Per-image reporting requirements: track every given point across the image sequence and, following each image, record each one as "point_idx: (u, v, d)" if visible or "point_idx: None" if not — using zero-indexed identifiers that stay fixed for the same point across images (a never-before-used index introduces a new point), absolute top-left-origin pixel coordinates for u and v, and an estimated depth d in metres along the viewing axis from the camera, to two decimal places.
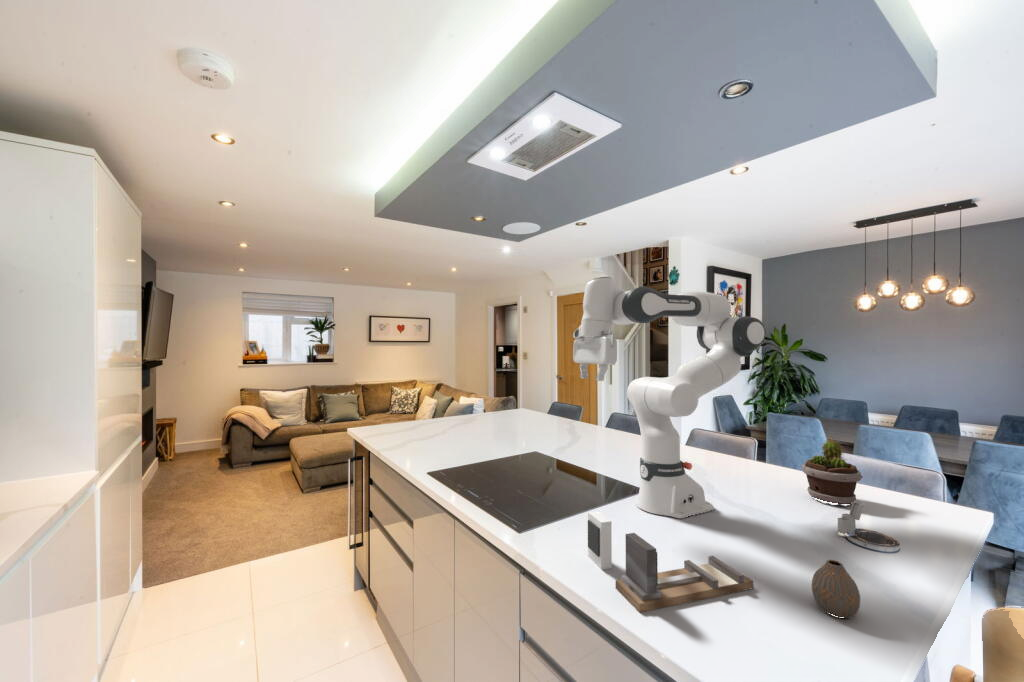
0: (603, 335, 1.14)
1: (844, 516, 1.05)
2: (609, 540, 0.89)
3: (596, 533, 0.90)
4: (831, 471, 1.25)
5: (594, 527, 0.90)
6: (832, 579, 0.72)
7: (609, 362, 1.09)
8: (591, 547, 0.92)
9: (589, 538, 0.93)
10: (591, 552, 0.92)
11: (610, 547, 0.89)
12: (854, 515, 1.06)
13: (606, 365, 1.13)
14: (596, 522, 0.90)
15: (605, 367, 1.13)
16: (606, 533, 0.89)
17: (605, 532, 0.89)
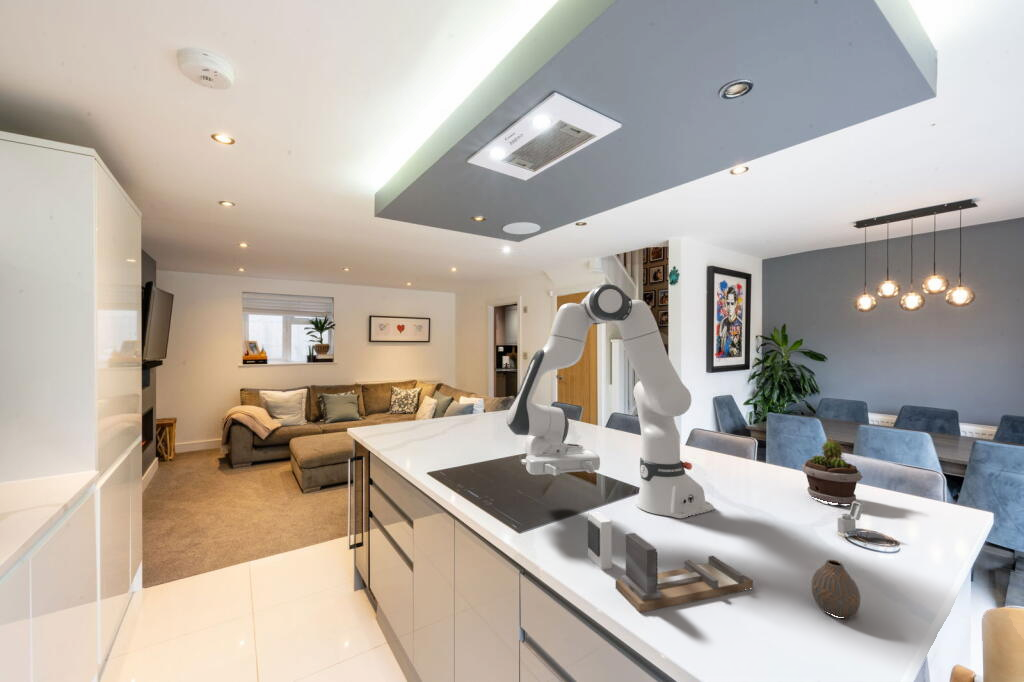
0: None
1: (844, 516, 1.05)
2: (609, 540, 0.89)
3: (596, 533, 0.90)
4: (831, 471, 1.25)
5: (594, 527, 0.90)
6: (832, 579, 0.72)
7: (531, 469, 1.05)
8: (591, 547, 0.92)
9: (589, 538, 0.93)
10: (591, 552, 0.92)
11: (610, 547, 0.89)
12: (854, 515, 1.06)
13: (544, 465, 1.06)
14: (596, 522, 0.90)
15: (545, 467, 1.05)
16: (606, 533, 0.89)
17: (605, 532, 0.89)
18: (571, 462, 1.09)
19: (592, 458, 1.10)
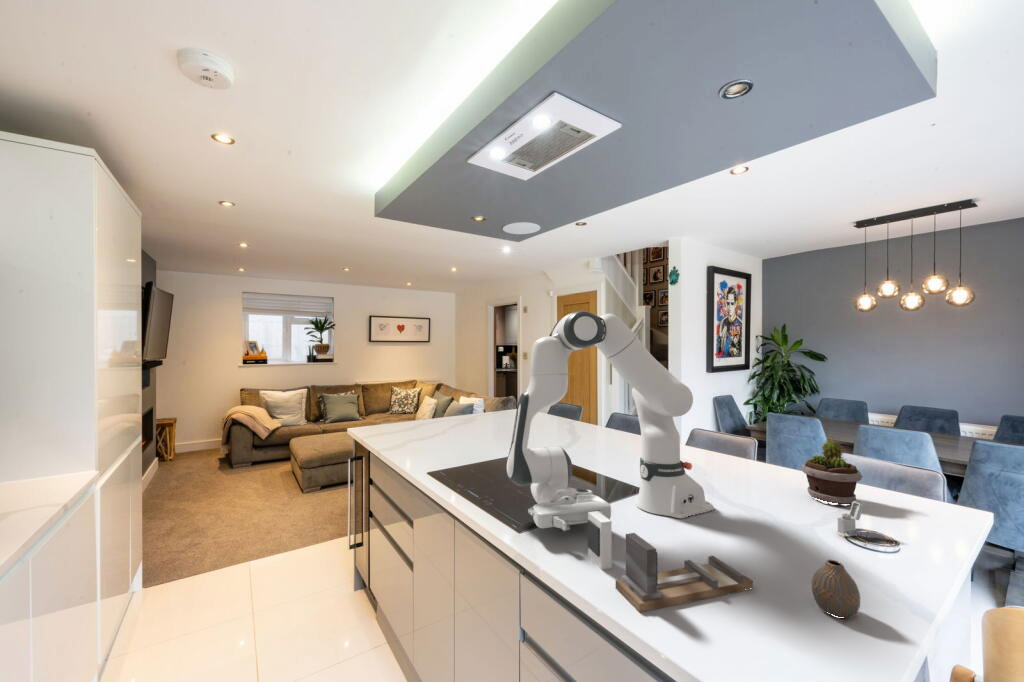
0: None
1: (844, 516, 1.05)
2: (609, 540, 0.89)
3: (596, 533, 0.90)
4: (831, 471, 1.25)
5: (594, 527, 0.90)
6: (832, 579, 0.72)
7: (539, 523, 1.00)
8: (591, 547, 0.92)
9: (589, 538, 0.93)
10: (591, 552, 0.92)
11: (610, 547, 0.89)
12: (854, 515, 1.06)
13: (553, 518, 1.00)
14: (596, 522, 0.90)
15: (553, 520, 1.00)
16: (606, 533, 0.89)
17: (605, 532, 0.89)
18: (581, 513, 1.03)
19: (603, 508, 1.05)
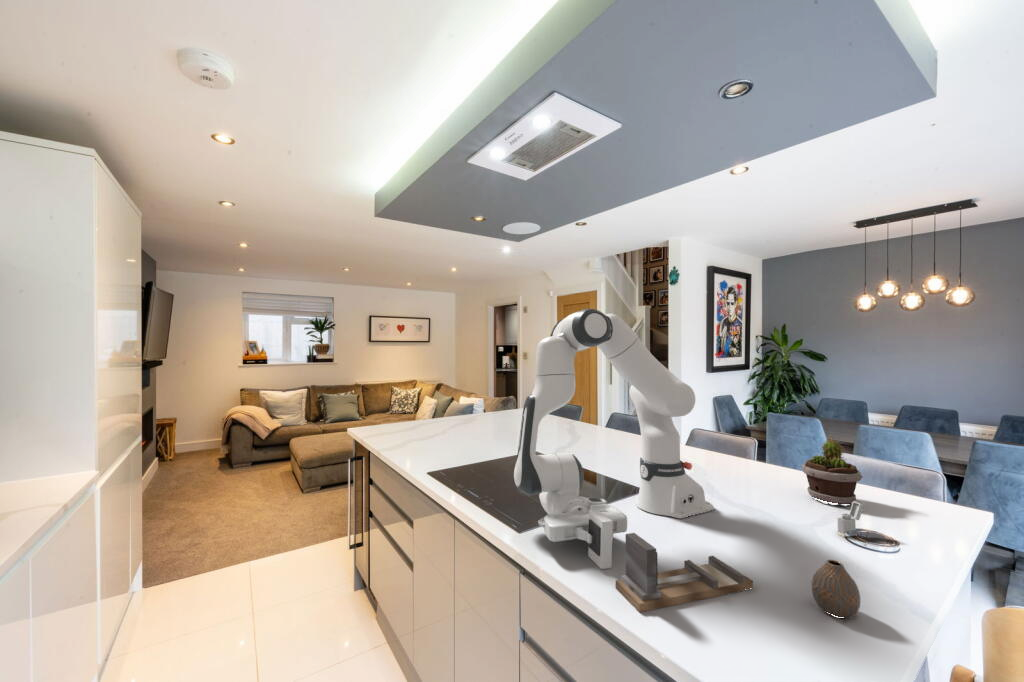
0: None
1: (844, 516, 1.05)
2: (610, 540, 0.89)
3: (597, 532, 0.90)
4: (831, 471, 1.25)
5: (595, 526, 0.90)
6: (832, 579, 0.72)
7: (551, 536, 0.93)
8: (591, 546, 0.92)
9: None
10: (592, 552, 0.92)
11: (611, 547, 0.89)
12: (854, 515, 1.06)
13: (576, 529, 0.94)
14: (597, 522, 0.91)
15: (577, 531, 0.93)
16: (607, 533, 0.89)
17: (606, 532, 0.89)
18: None
19: (619, 519, 0.97)
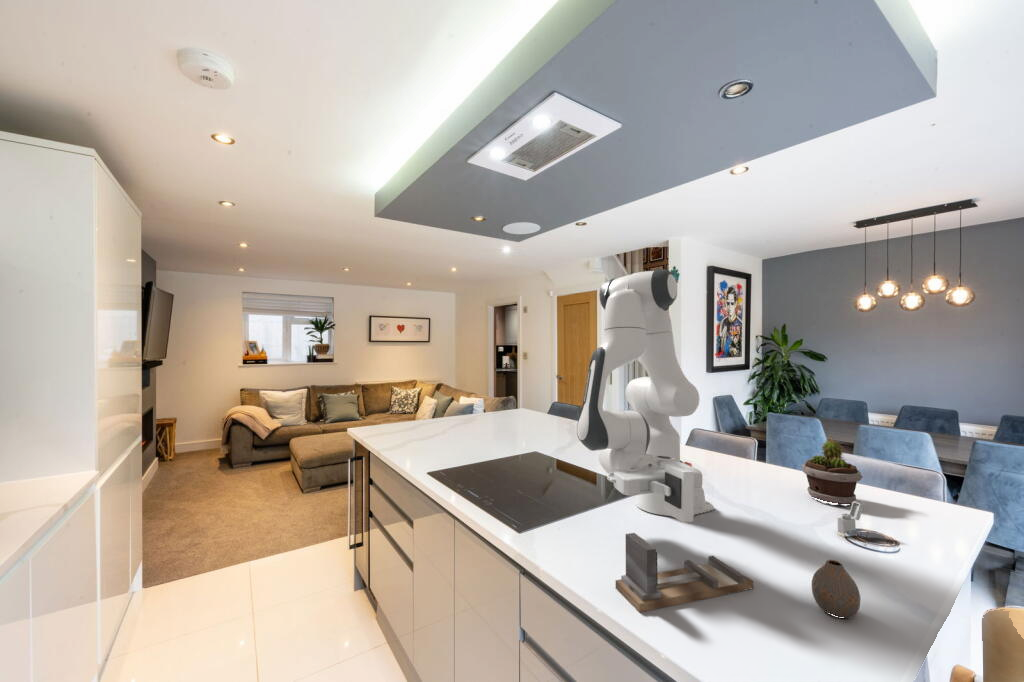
0: None
1: (844, 516, 1.05)
2: (691, 491, 0.83)
3: (677, 484, 0.84)
4: (831, 471, 1.25)
5: (674, 478, 0.85)
6: (832, 579, 0.72)
7: (625, 489, 0.87)
8: (669, 500, 0.86)
9: None
10: (669, 506, 0.87)
11: (692, 499, 0.83)
12: (854, 515, 1.06)
13: (651, 483, 0.88)
14: (676, 473, 0.85)
15: (652, 485, 0.88)
16: (688, 484, 0.83)
17: (687, 483, 0.83)
18: None
19: (694, 474, 0.92)
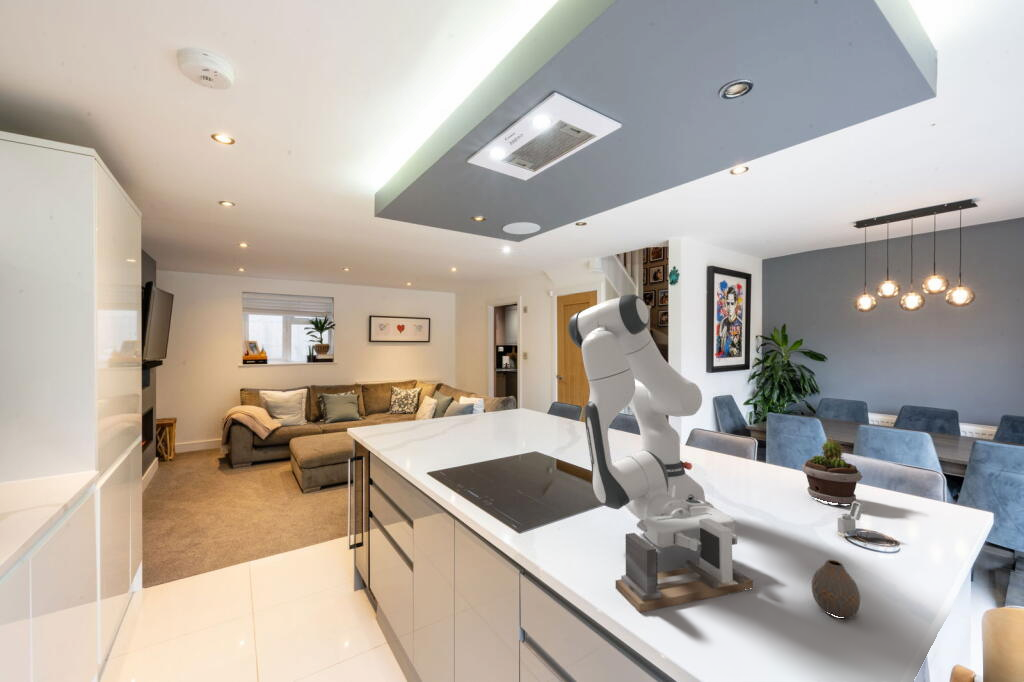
0: None
1: (844, 516, 1.05)
2: (730, 550, 0.81)
3: (714, 543, 0.82)
4: (831, 471, 1.25)
5: (711, 536, 0.82)
6: (832, 579, 0.72)
7: (659, 541, 0.85)
8: (705, 558, 0.84)
9: (703, 548, 0.85)
10: (706, 563, 0.84)
11: (731, 558, 0.81)
12: (854, 515, 1.06)
13: (676, 535, 0.85)
14: (713, 531, 0.82)
15: (677, 538, 0.85)
16: (726, 543, 0.81)
17: (725, 542, 0.81)
18: None
19: (727, 522, 0.89)
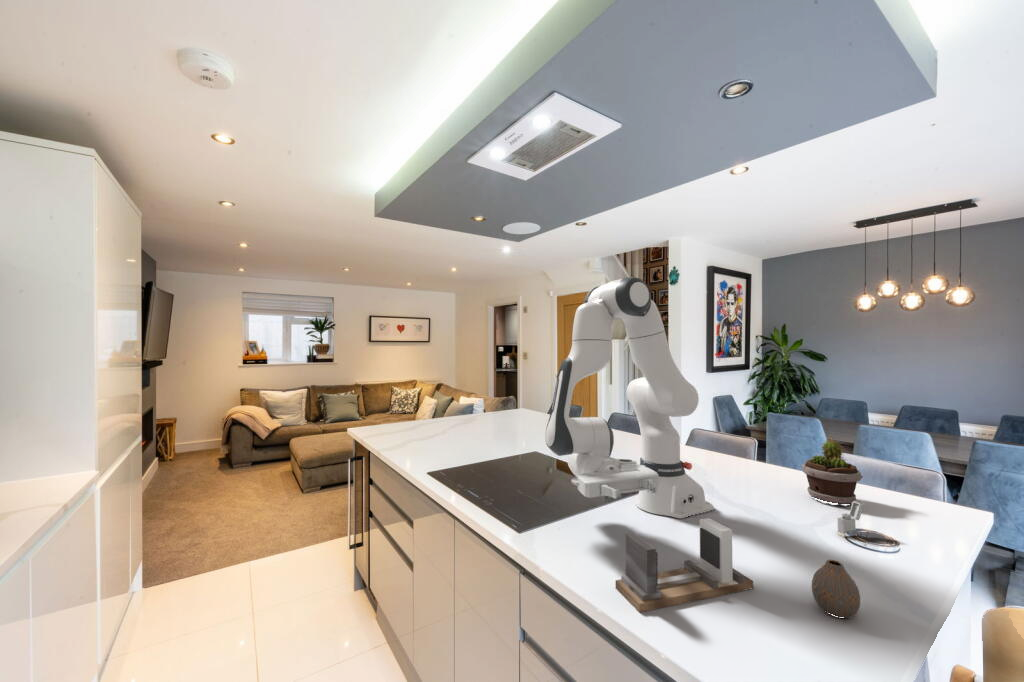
0: None
1: (844, 516, 1.05)
2: (730, 550, 0.81)
3: (715, 543, 0.82)
4: (831, 471, 1.25)
5: (711, 536, 0.82)
6: (832, 579, 0.72)
7: (586, 492, 0.95)
8: (705, 558, 0.84)
9: (703, 548, 0.85)
10: (706, 563, 0.84)
11: (731, 558, 0.81)
12: (854, 515, 1.06)
13: (601, 486, 0.95)
14: (713, 531, 0.82)
15: (602, 488, 0.94)
16: (726, 543, 0.81)
17: (725, 542, 0.81)
18: (628, 481, 0.98)
19: (651, 476, 0.99)
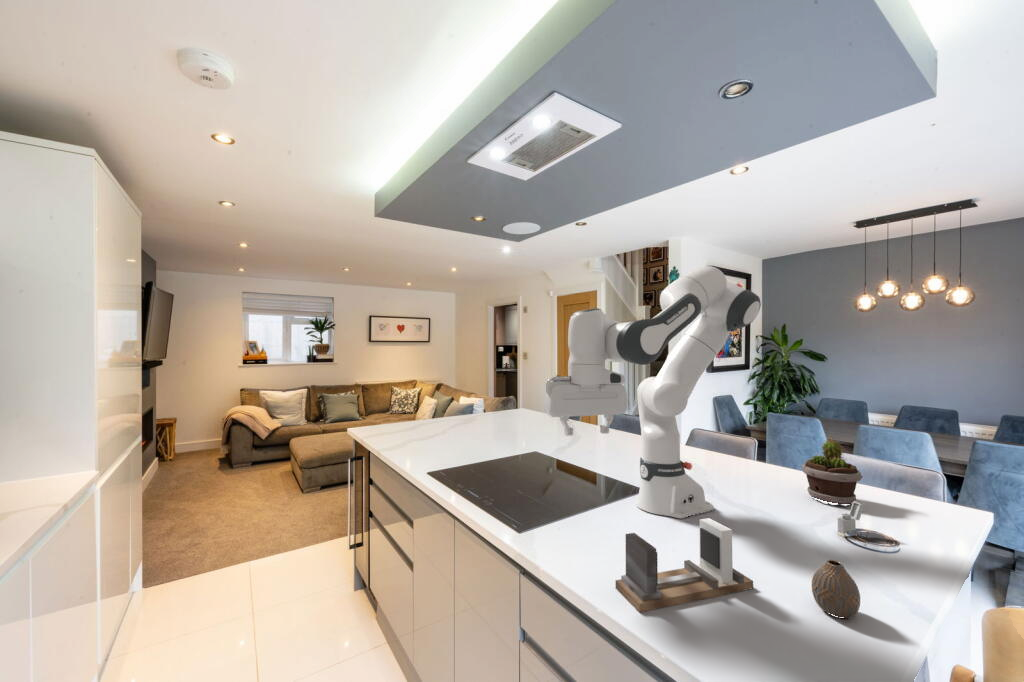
0: None
1: (844, 516, 1.05)
2: (730, 550, 0.81)
3: (715, 543, 0.82)
4: (831, 471, 1.25)
5: (711, 536, 0.82)
6: (832, 579, 0.72)
7: None
8: (705, 558, 0.84)
9: (703, 548, 0.85)
10: (706, 563, 0.84)
11: (731, 558, 0.81)
12: (854, 515, 1.06)
13: (562, 417, 0.95)
14: (713, 531, 0.82)
15: (562, 419, 0.96)
16: (726, 543, 0.81)
17: (725, 542, 0.81)
18: None
19: (617, 413, 0.99)
